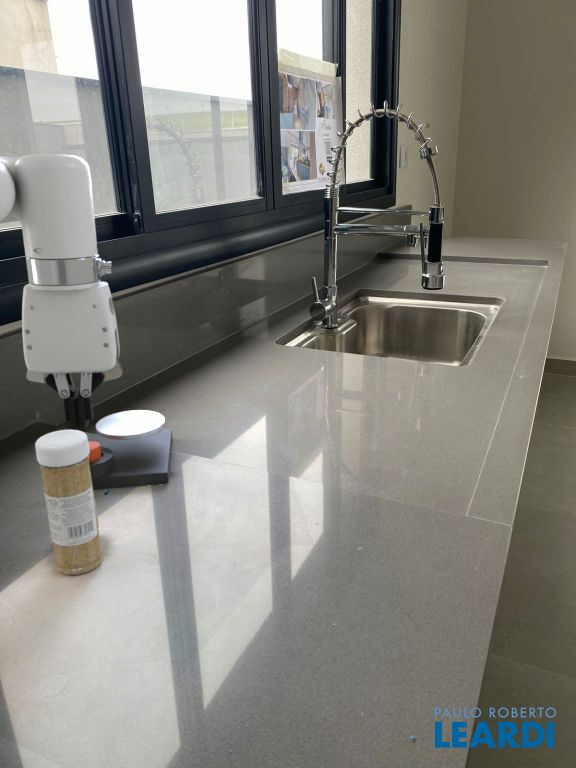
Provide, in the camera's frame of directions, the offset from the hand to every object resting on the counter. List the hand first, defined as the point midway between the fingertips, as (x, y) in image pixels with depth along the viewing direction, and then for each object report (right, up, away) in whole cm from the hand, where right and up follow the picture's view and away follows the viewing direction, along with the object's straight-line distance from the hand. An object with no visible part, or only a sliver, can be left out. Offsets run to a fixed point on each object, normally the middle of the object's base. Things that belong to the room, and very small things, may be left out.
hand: (81, 425), depth 73 cm
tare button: (0, -4, +2) cm, 5 cm away
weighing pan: (+4, -2, +8) cm, 9 cm away
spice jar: (+5, -13, -14) cm, 19 cm away
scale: (+3, -6, +7) cm, 10 cm away
